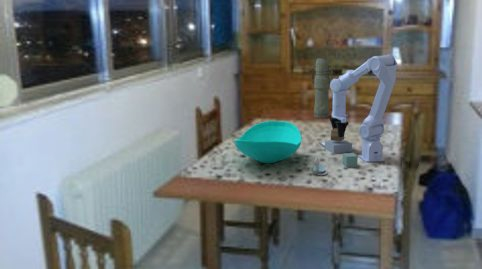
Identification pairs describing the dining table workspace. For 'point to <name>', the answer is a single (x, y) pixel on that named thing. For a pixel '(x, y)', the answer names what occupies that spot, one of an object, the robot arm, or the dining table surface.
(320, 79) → the thermos
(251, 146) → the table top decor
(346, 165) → the green block
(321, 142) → the card
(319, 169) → the pacifier
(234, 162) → the dining table surface
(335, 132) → the walnut block
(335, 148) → the slate base block
